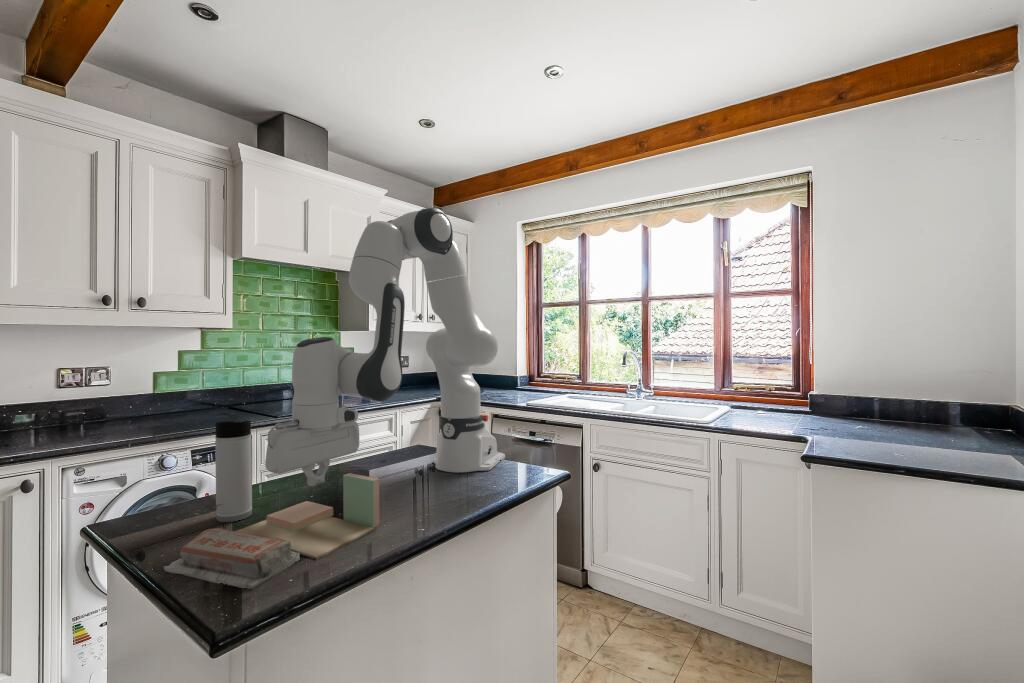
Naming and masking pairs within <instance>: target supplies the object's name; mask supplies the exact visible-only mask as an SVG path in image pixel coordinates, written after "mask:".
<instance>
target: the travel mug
mask: <svg viewBox="0 0 1024 683" xmlns="http://www.w3.org/2000/svg"><path fill="white" fill-rule="evenodd" d="M251 424H252V420H243V421H235V420H222V421H217V422H216V421H215V437H214V439H215V448H214V450H215V512H216V514H215V518H216V521H217V522H219V523H225V522H226V523H235V522H239V521H238V520H240V521H243V520H245V519H247V518H249V517H250V516H252V514H253V489H252V488H253V487H252V486H253V482H252V481H253V479H252V478H253V475H252V471H253V470H252V463H253V462H252V437H251V436H252V431H251V429H252V425H251ZM242 519H243V520H242ZM234 521H235V522H234Z"/></svg>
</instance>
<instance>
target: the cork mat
mask: <svg viewBox="0 0 1024 683" xmlns="http://www.w3.org/2000/svg"><path fill="white" fill-rule="evenodd" d="M375 529H376V527H374V528H373V527H369V526H365V525H361V524H357V523H353V522H349V521H345V520H344V519H341V518H337V517H334V516H330V517H328V518H326V519H323V520H321V521H319V522H316V523H314V524H311V525H309V526H307V527H304V528H302V529H300V530H297V531H295V532H293V531H289V530H286V529H283V528H279V527H276V526H272V525H269V524H267V519H264V520H261V521H259V522H256V523H253V524H251V525H248V526H245V527H243V528H240V529H238V530H236V531H238V532H243V533H250V534H256V535H262V536H267V537H272V538H278V539H282V540H288V541H290V543H291V551H293V552H295V553H298V552H299V555H300V556H301V555H302V556H305V557H308V558H310V559H314V558H315V559H314V560H318V559H320V558H323V557H324V556H326V555H328V554H331V553H332V552H335V551H337V550H338V549H340V548H342V547H344V546H346V545H349V544H350V543H352V542H354V541H356V540H357V539H359V538H362V537H363V536H366V535H368V534H370V533H371V532H374V531H375Z"/></svg>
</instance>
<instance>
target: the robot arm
mask: <svg viewBox="0 0 1024 683" xmlns="http://www.w3.org/2000/svg"><path fill="white" fill-rule="evenodd" d="M453 233H454V231H453V226H452V224H451V221H450V219H449V217H448V216H447V215H446V214H445V213H444V211H443V210H441V209H439V208H435V207H428V208H427V207H426V208H422V209H420V210H415V211H410V212H407V213H404V214H402V215H400V216H399V217H395V218H394V219H391V220H387V221H385V220H377V221H376V220H375V221H372V222H370V223H369V224H368V225H366V227H365V228H364V230H363V231H362V233H361V236H360V237H359V239H358V242H357V245H356V246H355V247H356V248H355V251H354V253H353V257H352V261H351V263H350V268H349V273H348V284H349V287H350V289H351V291H352V293H353V294H354V295H355V296H356V297H357V298H359V299H360V300H362V302H365V303H367V304H369V305H371V306H372V307H374V309H375V312H376V324H375V330H374V331H375V332H374V341H373V348H372V350H370V352H367V353H366V352H365V353H364V352H363V353H362V352H353V351H352V350H349V349H346V348H344V347H343V346H341V345H340V344H339V343H337V342H336V340H335V338H334V337H329V336H322V337H320V336H319V337H312V338H307V339H304V340H301V341H300V342H298V343H297V344H296V346H295V348H294V351H293V355H292V356H293V357H292V365H291V366H292V367H291V383H292V387H293V392H294V393H293V397H292V402H291V416H292V417H291V421H290V420H289V421H285V422H278V423H275V424H274V426H273V427H271V428H270V429H269V431H268V432H267V433H268V434H267V447H266V451H265V453H266V454H265V463H264V464H265V469H266V470H267V471H268V472H270V473H272V474H279V475H280V474H284V473H287V472H291V471H294V470H298V469H301V470H302V471H303V474H304V475H305V477H306V484H307V486H309V487H314V486H317V485H320V484H323V483H325V482H326V478H325V477H326V473H327V471H328V469H329V467H330V465H331V464H330V463H331V462H330V460H334V459H336V458H340V457H344V456H348V455H352V454H355V453H357V451H358V450H359V447H360V428H359V424H358V422H357V420H359V412H358V411H357V410H355V409H351V408H346V407H343V406H340V402H339V401H340V399H339V397H340V396H342V397H343V396H345V397H346V396H347V397H352V398H360V399H361V398H362V399H367V400H369V401H375V402H384V401H385V402H386V401H388V400H389V399H390V398H391V399H392V397H393V396H394V395H395V394H396V393H397V391H398V390H399V389H400V386H401V384H402V382H403V366H402V347H403V336H404V324H405V309H406V308H405V307H406V306H405V296H404V291H403V290H402V288H400V274H401V269H402V265H403V261H406V260H408V259H409V260H411V259H417V258H418V259H419V260H420V261H421V263H422V265H423V272H424V277H425V282H426V287H427V292H428V297H429V301H430V306H431V310H432V311H433V313H434V314H435V315H436V316H437V317H438V318H439V320H441V322H442V324H443V326H444V327H443V328H440V329H438V330H436V331H434V332H432V333H431V334H430V335H429V336H428V338H427V340H426V344H425V345H426V346H425V349H426V350H425V351H426V354H427V356H428V358H430V360H431V361H432V363H433V365H434V368H435V372H436V374H437V379H438V382H439V389H440V416H439V421H438V424H439V430H440V432H439V433H438V434H437V439H436V449H435V450H436V451H435V453H436V454H435V457H434V458H433V461H432V462H433V463H434V464H435V466H434V467H435V469H437V470H440V471H442V472H446V473H447V472H448V473H470V472H478V471H481V472H482V471H491V469H493V468H494V467H495V466H496V465H498V464H499V463H501V461H503V460H504V459H505V458H506V454H505V453H502V452H500V451H498V443H497V439H496V437H495V436H494V435H493V434H492V433H490V432H489V431H488V430H487V428H485V423H486V422H488V421H489V415H488V414H484V413H482V414H481V387H480V385H479V384H478V383H477V381H476V380H475V379H474V376H473V374H472V369H471V368H479V367H482V366H483V367H484V366H486V365H489V364H490V363H492V362H493V361H494V359H495V358H496V357H497V353H498V348H499V347H498V346H499V345H498V340H497V338H496V336H495V335H494V333H493V332H491V331H490V330H489V329H488V328H487V327H486V326H485V324H484V323H483V321H482V320H481V318H480V316H479V314H478V313H477V310H476V308H475V306H474V304H473V300H472V296H471V291H470V286H469V282H468V279H467V278H468V277H467V272H466V269H465V265H464V261H463V258H462V255H461V252H460V250H459V247H458V245H457V243H456V242H455V241H454V239H453V238H454V237H453V236H454V234H453ZM484 422H485V423H484ZM495 459H497V460H495ZM499 460H501V461H499ZM316 464H317V465H318V468H317V471H316V473H315V472H314V470H315V467H316Z"/></svg>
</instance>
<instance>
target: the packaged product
mask: <svg viewBox="0 0 1024 683" xmlns="http://www.w3.org/2000/svg"><path fill="white" fill-rule="evenodd" d="M179 551H180V552H179V553H180V554H179V556H180V558H178V559H176V560H173V561H171V563H170V564H169V565H164V566H163V570H164V572H168V573H170V574H171V573H172V574H178V575H183V576H185V577H186V576H187V577H190V578H195V579H199V580H202V581H203V580H204V581H206V582H210V583H215V584H220V583H223V584H222V585H226V584H227V585H226V586H231V587H237V588H239V589H244V588H249V589H252V588H254V587H256V586H257V585H259V584H261V583H262V582H264V581H266V580H267V579H269V578H271V577H272V576H274V575H275V574H277V573H278V572H280V571H282V570H284V569H285V570H287V569H288V568H287V567H289V566H290V567H291V565H292V564H293V565H295V564H296V563H295V562H297V561H298V562H300V561H301V558H300V556H301V554H299V552H298V553H295V552H293V551H291V543H290V541H288V540H282V539H278V538H272V537H267V536H262V535H256V534H250V533H243V532H238V531H237V530H231V529H225V528H219V527H216V528H208V529H206V530H203V531H201V532H200V534H198V535H197V536H195V537H194V538H193V539H191V540H190V541H188V542H187V543H185V544H184V545H182V547H181V548H180V549H179ZM299 560H300V561H299ZM298 562H297V563H298ZM294 563H295V564H294ZM293 565H292V566H293ZM290 567H289V568H290ZM286 568H287V569H286ZM285 570H284V571H285ZM282 572H283V571H282ZM280 573H281V572H280ZM277 575H278V574H277ZM274 577H275V576H274ZM272 578H273V577H272ZM272 578H271V579H272ZM269 580H270V579H269ZM267 581H268V580H267ZM267 581H266V582H267ZM264 583H265V582H264ZM262 584H263V583H262ZM262 584H261V585H262ZM259 586H260V585H259ZM257 587H258V586H257ZM257 587H256V588H257ZM249 589H248V590H249ZM254 589H255V588H254ZM252 590H253V589H252Z"/></svg>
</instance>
